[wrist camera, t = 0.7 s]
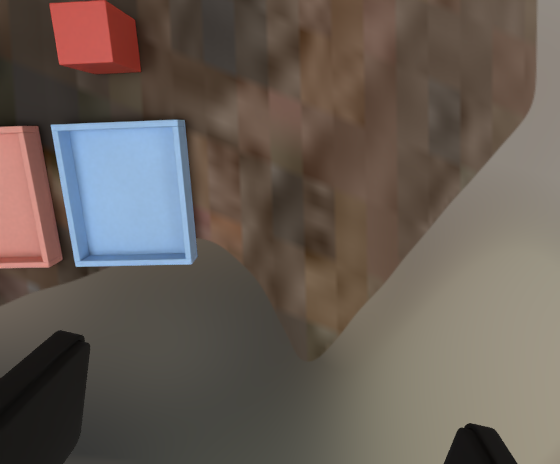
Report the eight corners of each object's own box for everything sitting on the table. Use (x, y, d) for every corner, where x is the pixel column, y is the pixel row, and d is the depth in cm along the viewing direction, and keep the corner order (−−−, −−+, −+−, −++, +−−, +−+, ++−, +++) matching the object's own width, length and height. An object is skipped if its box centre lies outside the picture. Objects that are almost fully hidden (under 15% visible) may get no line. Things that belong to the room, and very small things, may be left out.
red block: (87, 22, 37) (48, 2, 32) (135, 19, 37) (105, -1, 31) (95, 74, 39) (59, 64, 33) (141, 72, 38) (113, 62, 33)
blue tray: (65, 124, 40) (50, 124, 38) (184, 119, 39) (177, 119, 37) (87, 259, 44) (75, 266, 41) (197, 256, 43) (191, 264, 40)
